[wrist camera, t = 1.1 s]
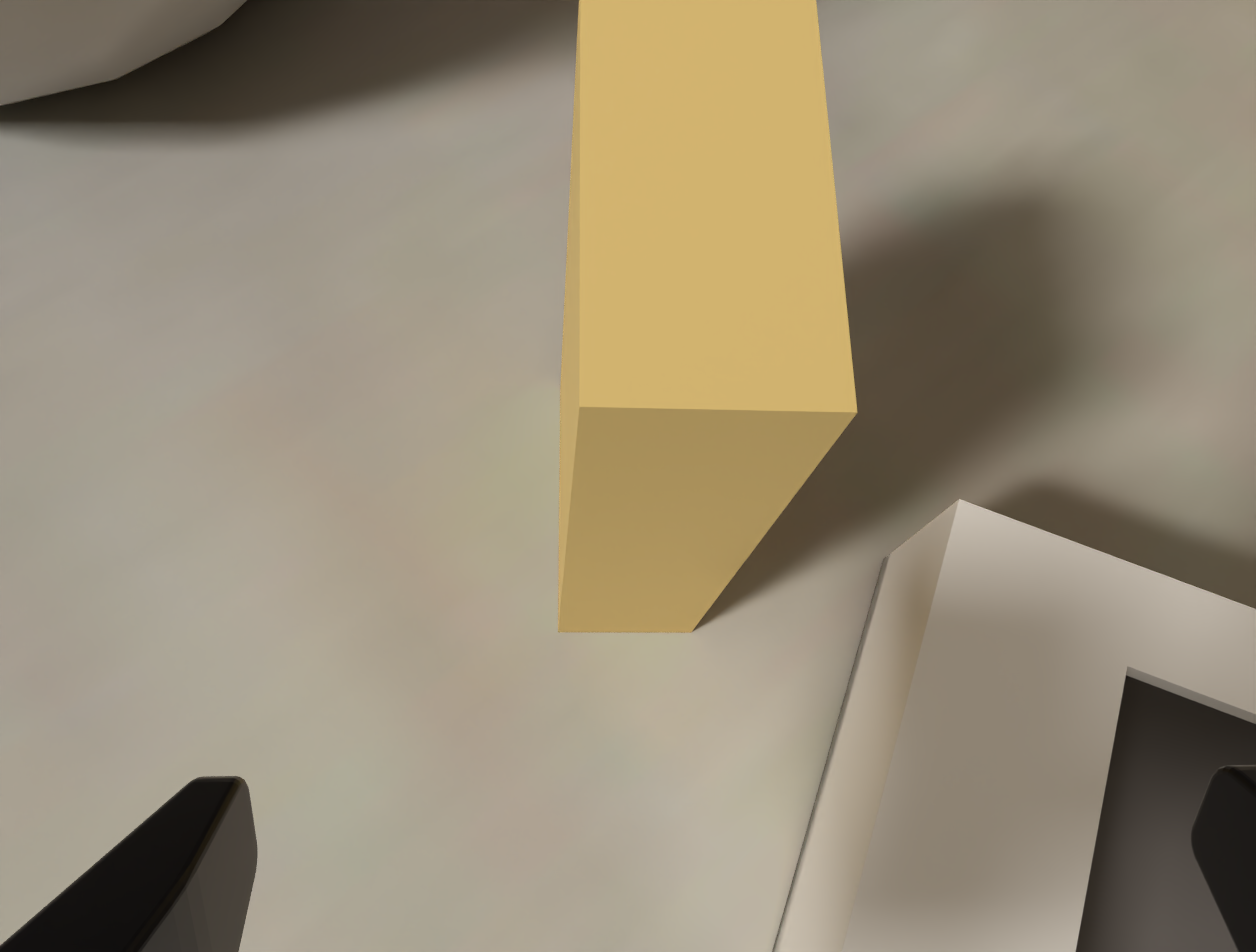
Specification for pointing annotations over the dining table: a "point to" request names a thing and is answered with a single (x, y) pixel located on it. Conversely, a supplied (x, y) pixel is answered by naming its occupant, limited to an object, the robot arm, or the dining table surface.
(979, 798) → the white slotted base
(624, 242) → the block
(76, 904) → the robot arm
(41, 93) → the chamber pot
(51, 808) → the dining table surface
